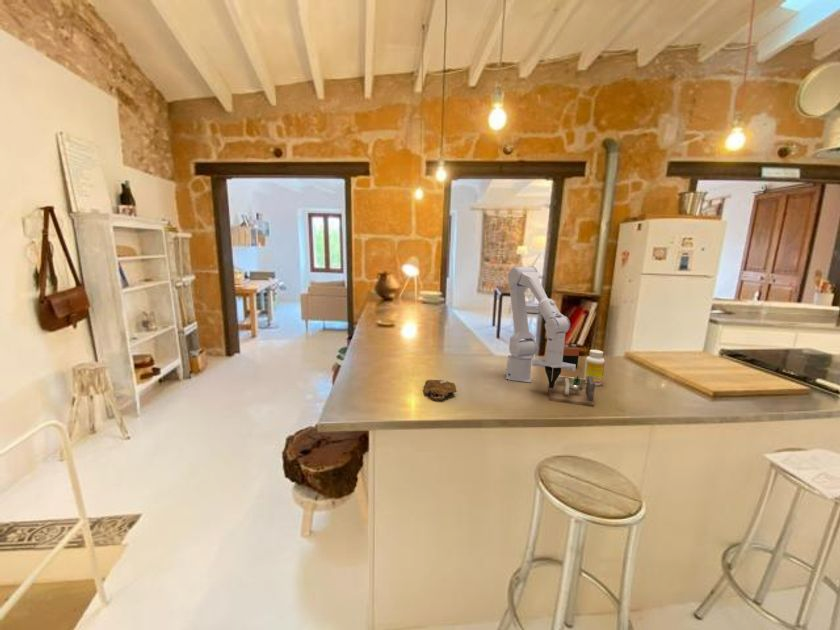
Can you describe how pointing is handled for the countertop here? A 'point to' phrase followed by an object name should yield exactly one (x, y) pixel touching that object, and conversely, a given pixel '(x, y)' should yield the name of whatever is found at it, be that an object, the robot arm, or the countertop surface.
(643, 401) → the countertop surface
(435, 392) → the decorative rock
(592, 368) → the supplement bottle
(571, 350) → the battery
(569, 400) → the base
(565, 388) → the silver cylinder with block
